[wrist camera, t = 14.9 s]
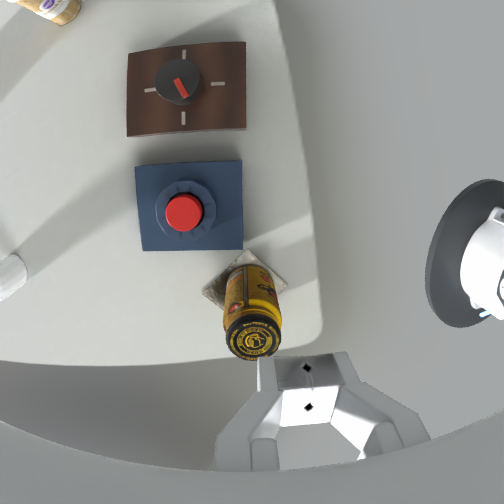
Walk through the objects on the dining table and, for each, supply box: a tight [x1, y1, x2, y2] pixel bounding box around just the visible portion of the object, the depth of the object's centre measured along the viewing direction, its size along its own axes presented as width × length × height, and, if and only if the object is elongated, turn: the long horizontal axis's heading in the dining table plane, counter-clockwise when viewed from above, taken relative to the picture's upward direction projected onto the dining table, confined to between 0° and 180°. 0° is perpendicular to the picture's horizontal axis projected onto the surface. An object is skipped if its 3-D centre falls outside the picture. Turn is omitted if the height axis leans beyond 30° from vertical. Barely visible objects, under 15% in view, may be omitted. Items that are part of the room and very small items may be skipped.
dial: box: [154, 59, 204, 105], centre depth 25 cm, size 4×4×4 cm
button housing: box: [135, 160, 243, 251], centre depth 33 cm, size 12×10×4 cm
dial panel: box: [127, 42, 246, 137], centre depth 28 cm, size 13×10×3 cm
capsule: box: [0, 254, 27, 301], centre depth 33 cm, size 5×5×8 cm
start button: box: [166, 194, 202, 231], centre depth 30 cm, size 4×4×2 cm
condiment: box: [202, 249, 288, 361], centre depth 33 cm, size 7×8×12 cm
